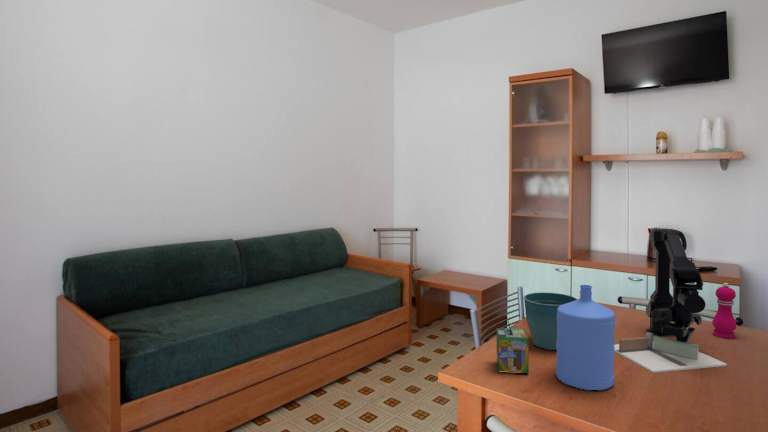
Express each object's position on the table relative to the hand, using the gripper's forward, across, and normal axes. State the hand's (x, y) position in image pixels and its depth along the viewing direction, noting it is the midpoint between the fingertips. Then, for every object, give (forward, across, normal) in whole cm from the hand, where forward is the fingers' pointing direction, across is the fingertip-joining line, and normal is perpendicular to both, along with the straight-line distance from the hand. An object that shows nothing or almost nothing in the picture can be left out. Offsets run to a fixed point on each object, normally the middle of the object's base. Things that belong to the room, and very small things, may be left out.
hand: (681, 349), depth 150 cm
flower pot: (+2, +23, -34) cm, 41 cm away
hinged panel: (+1, +3, -1) cm, 3 cm away
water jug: (+1, +42, -12) cm, 43 cm away
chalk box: (+1, +50, -31) cm, 59 cm away
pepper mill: (+4, -32, +4) cm, 33 cm away
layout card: (+2, +5, -4) cm, 6 cm away
